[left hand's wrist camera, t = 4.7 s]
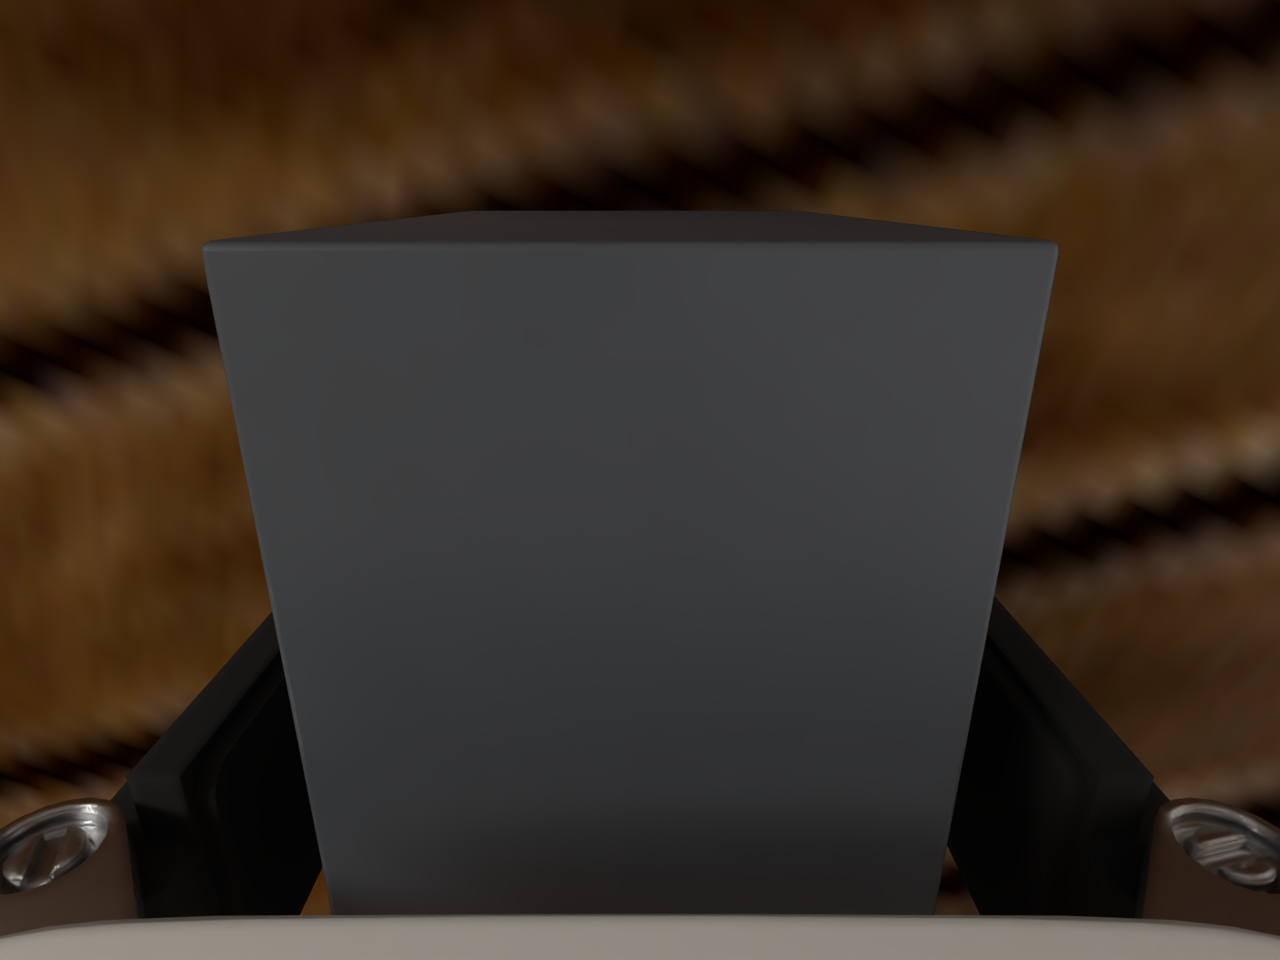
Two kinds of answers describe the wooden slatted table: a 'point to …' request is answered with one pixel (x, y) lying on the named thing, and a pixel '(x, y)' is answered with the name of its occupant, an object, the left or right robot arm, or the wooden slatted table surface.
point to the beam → (631, 546)
